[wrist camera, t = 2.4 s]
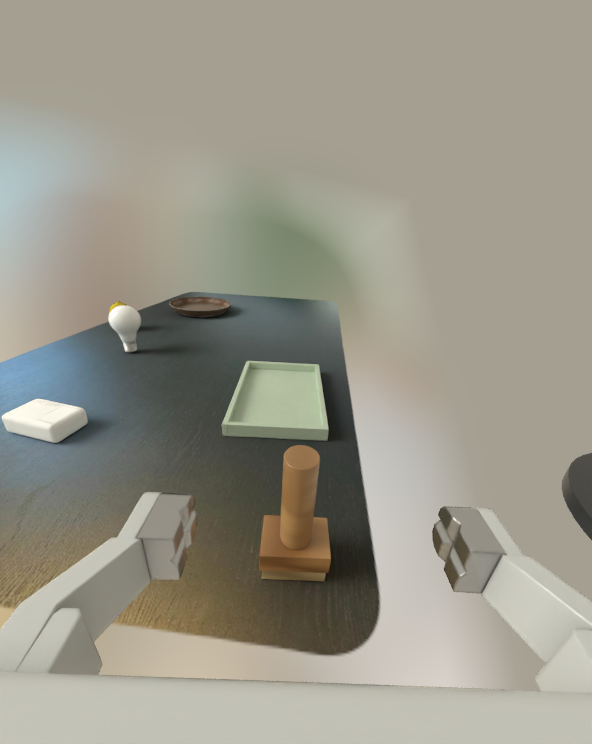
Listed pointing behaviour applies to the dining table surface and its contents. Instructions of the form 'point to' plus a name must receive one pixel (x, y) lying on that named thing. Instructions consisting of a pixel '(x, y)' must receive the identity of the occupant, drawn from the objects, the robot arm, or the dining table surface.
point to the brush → (296, 524)
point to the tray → (278, 403)
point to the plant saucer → (200, 306)
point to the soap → (45, 420)
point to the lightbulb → (126, 325)
